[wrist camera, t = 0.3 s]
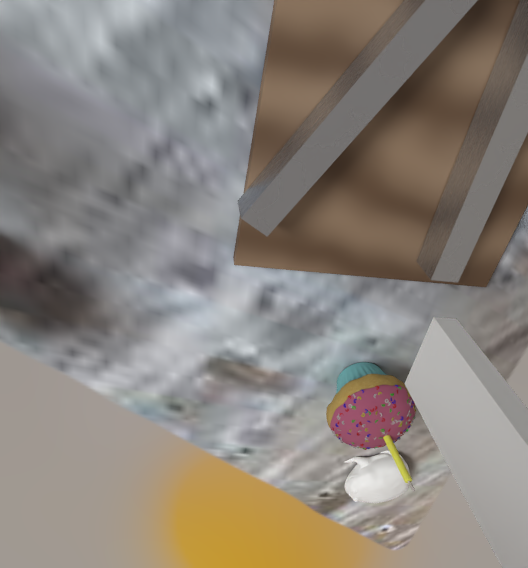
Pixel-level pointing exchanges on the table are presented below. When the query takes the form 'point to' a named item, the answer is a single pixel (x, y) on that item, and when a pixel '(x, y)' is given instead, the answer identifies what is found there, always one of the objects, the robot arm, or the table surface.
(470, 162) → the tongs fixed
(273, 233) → the board
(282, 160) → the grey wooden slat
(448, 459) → the robot arm
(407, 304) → the table surface
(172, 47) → the table surface
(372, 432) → the cupcake
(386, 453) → the garlic
